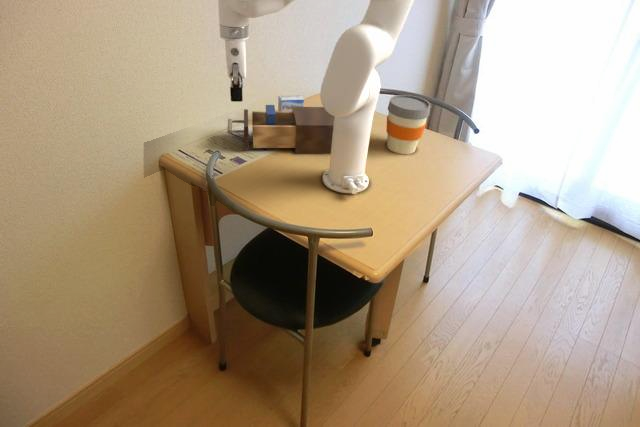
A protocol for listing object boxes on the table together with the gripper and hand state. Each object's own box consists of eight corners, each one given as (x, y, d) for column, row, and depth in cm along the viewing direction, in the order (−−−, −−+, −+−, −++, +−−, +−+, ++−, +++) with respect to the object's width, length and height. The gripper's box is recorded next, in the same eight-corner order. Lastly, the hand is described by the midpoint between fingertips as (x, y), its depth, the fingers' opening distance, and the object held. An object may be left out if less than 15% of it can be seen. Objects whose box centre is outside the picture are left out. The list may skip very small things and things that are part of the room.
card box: (266, 142, 132) (266, 114, 127) (265, 132, 138) (265, 104, 133) (275, 142, 133) (275, 114, 128) (273, 132, 138) (274, 104, 133)
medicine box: (280, 125, 148) (280, 100, 142) (277, 119, 151) (278, 95, 146) (303, 124, 150) (304, 99, 144) (300, 118, 153) (301, 94, 148)
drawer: (227, 150, 129) (226, 126, 125) (228, 131, 139) (227, 109, 135) (303, 150, 133) (305, 127, 128) (299, 131, 142) (300, 110, 138)
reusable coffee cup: (400, 160, 134) (410, 113, 125) (373, 143, 141) (380, 98, 133) (429, 151, 140) (440, 106, 131) (401, 135, 148) (409, 92, 139)
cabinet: (295, 153, 132) (296, 125, 127) (291, 133, 143) (292, 106, 138) (356, 153, 135) (359, 125, 130) (347, 133, 146) (350, 107, 141)
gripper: (249, 41, 110) (250, 106, 120) (248, 24, 124) (249, 84, 134) (218, 39, 109) (222, 106, 119) (221, 23, 123) (224, 83, 133)
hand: (236, 94), depth 126 cm, fingers open, 9 cm apart
